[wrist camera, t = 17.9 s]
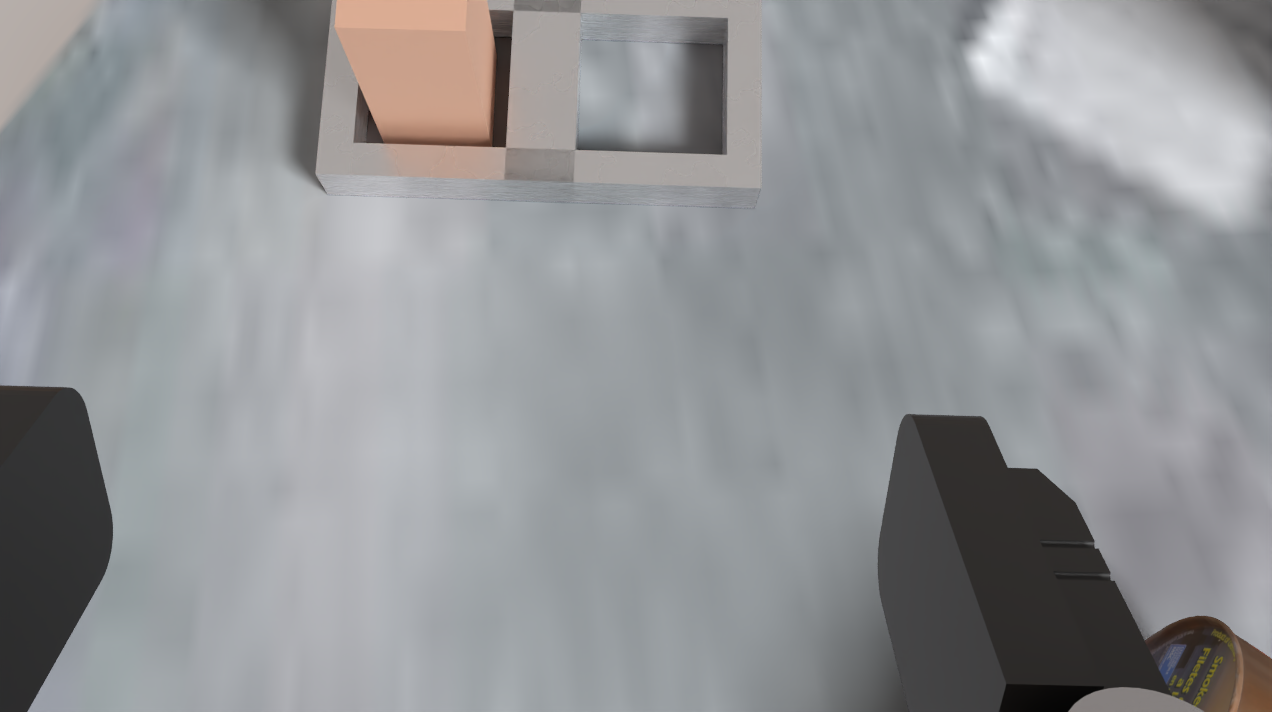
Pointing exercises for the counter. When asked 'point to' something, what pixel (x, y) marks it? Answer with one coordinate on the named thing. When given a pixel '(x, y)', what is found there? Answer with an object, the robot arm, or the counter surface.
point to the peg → (423, 68)
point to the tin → (1212, 666)
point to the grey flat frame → (561, 115)
